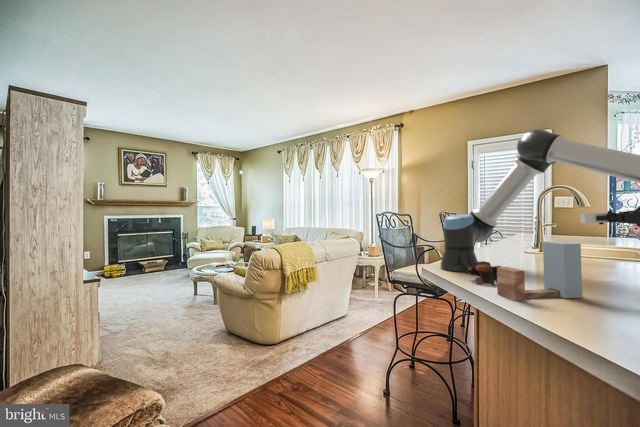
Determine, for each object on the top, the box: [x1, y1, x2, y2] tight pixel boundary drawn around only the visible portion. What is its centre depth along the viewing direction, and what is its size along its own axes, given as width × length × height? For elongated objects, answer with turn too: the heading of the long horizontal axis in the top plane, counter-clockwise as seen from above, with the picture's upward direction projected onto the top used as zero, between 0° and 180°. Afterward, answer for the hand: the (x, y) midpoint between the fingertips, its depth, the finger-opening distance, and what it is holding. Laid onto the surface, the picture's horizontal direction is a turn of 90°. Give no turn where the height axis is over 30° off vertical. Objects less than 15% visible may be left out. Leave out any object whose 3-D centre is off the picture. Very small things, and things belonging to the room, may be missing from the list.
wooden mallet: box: [496, 266, 561, 302], centre depth 86 cm, size 21×7×8 cm, turn 94°
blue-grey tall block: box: [542, 241, 583, 299], centre depth 87 cm, size 5×7×15 cm
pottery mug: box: [466, 260, 503, 286], centre depth 105 cm, size 12×9×8 cm
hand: (582, 218), depth 87 cm, fingers closed
